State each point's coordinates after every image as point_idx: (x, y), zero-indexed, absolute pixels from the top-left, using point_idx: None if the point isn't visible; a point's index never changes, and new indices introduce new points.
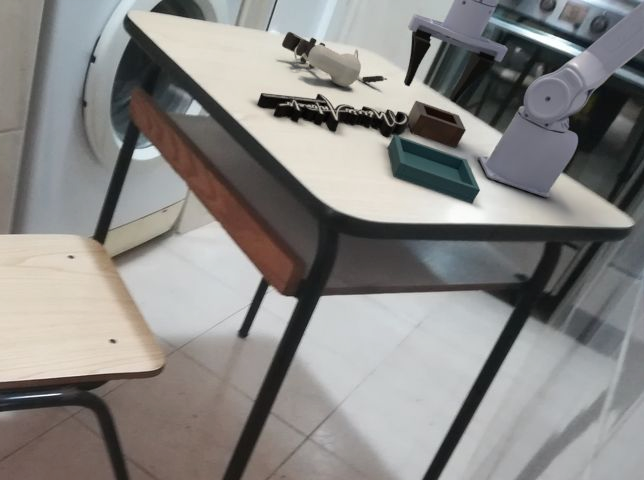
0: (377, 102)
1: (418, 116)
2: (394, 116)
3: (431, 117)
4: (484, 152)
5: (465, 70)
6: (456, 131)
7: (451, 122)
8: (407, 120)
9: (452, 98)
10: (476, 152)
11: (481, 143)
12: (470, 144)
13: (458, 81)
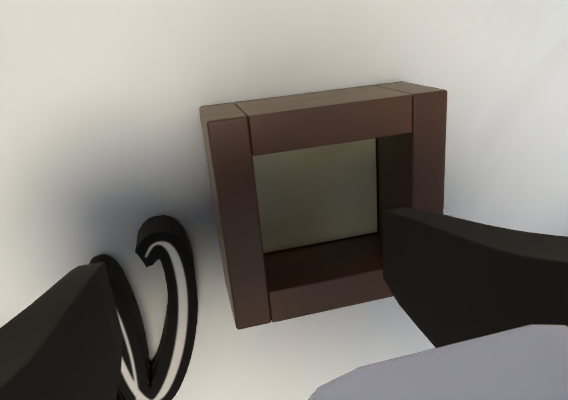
0: (13, 19)
1: (232, 308)
2: (129, 339)
3: (289, 312)
4: (521, 164)
5: (495, 292)
6: None
7: (400, 158)
8: (191, 318)
9: (388, 275)
10: (484, 203)
11: (538, 55)
12: (478, 131)
13: (437, 235)
